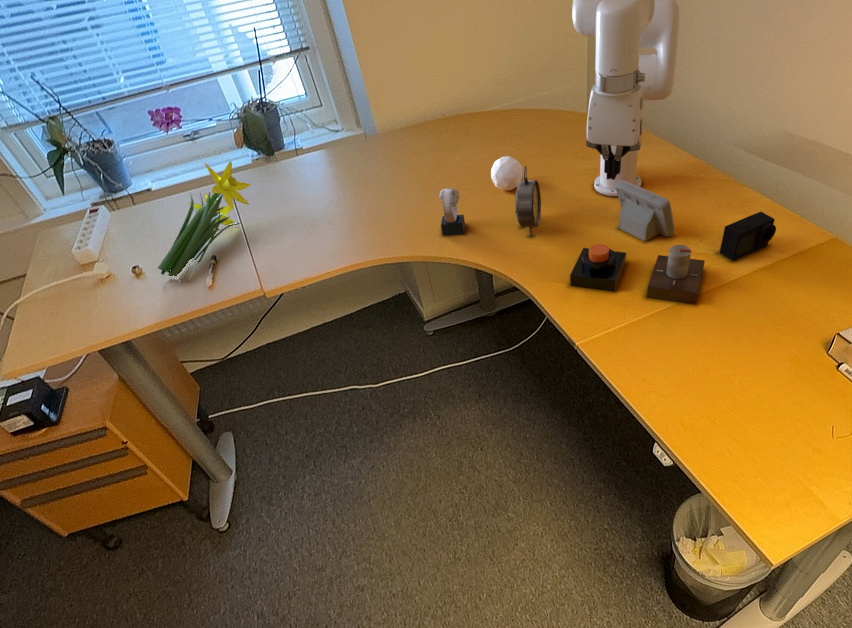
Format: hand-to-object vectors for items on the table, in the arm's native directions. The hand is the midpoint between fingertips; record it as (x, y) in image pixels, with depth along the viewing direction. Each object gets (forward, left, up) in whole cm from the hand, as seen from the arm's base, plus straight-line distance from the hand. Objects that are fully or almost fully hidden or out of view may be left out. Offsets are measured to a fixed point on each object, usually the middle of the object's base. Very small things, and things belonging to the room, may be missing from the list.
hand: (612, 176), depth 117 cm
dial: (+4, +16, -18) cm, 24 cm away
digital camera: (-12, +29, -21) cm, 38 cm away
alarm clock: (-12, -23, -21) cm, 34 cm away
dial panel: (+4, +16, -21) cm, 27 cm away
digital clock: (-17, +5, -21) cm, 27 cm away
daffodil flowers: (+16, -103, -21) cm, 107 cm away
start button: (+4, -1, -17) cm, 17 cm away
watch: (-7, -42, -21) cm, 48 cm away
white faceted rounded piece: (-32, -36, -21) cm, 53 cm away
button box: (+4, -1, -21) cm, 22 cm away
